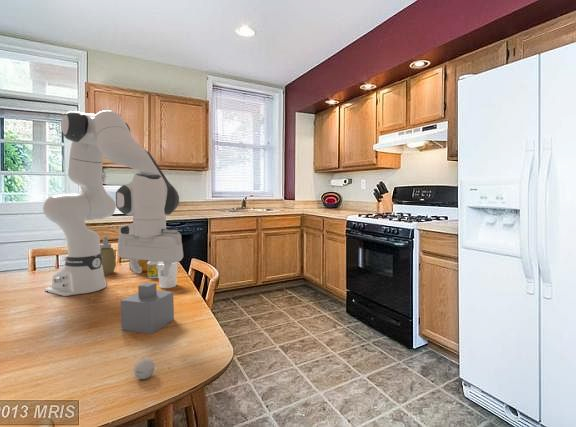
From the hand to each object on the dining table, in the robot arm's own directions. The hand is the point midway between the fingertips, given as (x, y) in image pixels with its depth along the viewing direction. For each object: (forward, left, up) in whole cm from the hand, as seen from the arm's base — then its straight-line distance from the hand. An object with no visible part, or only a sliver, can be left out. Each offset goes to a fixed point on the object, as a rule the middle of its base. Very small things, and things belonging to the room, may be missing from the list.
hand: (151, 274), depth 92 cm
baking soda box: (-50, +52, -16) cm, 74 cm away
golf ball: (+16, -23, -16) cm, 32 cm away
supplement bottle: (-35, +44, -16) cm, 58 cm away
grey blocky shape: (-1, 0, -15) cm, 15 cm away
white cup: (-20, +34, -16) cm, 42 cm away
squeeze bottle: (-62, +44, -16) cm, 77 cm away
